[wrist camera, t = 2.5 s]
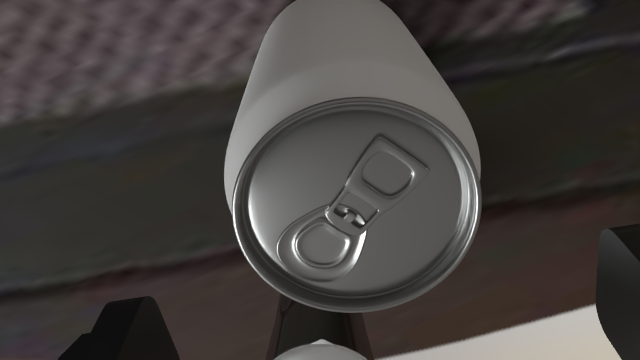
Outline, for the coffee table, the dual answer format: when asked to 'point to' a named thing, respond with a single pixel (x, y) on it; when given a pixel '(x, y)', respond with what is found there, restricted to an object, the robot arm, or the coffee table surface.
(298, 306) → the milkshake
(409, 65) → the can
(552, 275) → the coffee table surface
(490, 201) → the coffee table surface
